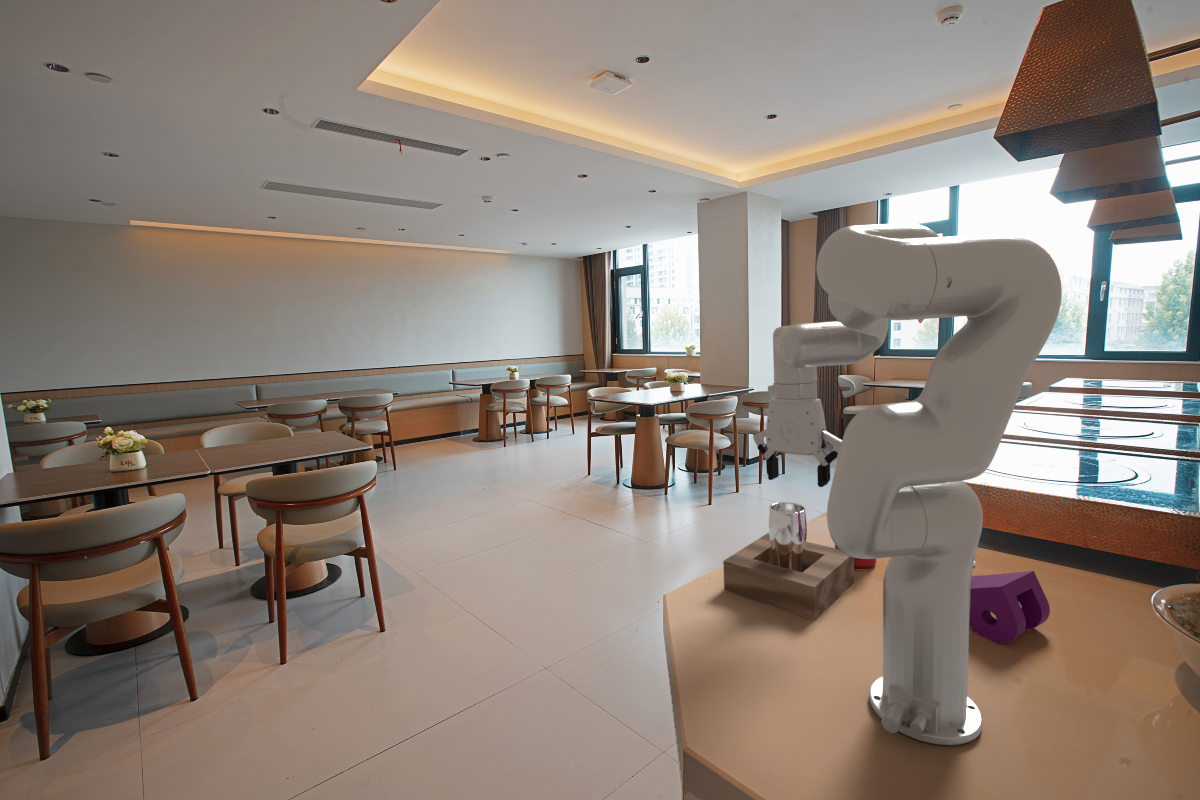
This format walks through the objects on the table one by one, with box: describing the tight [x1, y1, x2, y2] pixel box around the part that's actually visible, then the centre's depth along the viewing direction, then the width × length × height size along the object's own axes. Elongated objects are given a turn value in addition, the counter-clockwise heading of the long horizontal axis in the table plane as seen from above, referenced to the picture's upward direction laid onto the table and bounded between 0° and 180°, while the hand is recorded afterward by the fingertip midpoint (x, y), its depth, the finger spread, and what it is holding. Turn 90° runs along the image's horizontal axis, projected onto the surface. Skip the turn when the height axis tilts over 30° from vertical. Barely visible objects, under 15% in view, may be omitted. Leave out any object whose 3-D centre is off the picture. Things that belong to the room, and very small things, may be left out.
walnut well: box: [722, 532, 855, 621], centre depth 107 cm, size 18×18×6 cm
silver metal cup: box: [768, 501, 808, 573], centre depth 107 cm, size 7×7×15 cm
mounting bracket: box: [969, 570, 1051, 645], centre depth 93 cm, size 10×8×18 cm
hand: (797, 481), depth 104 cm, fingers open, 9 cm apart
